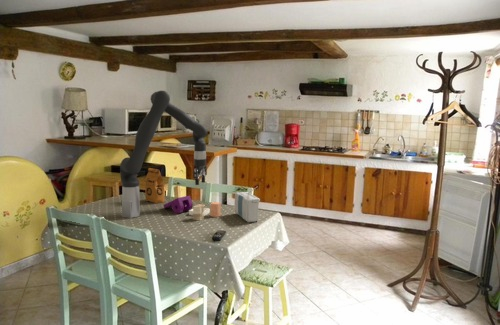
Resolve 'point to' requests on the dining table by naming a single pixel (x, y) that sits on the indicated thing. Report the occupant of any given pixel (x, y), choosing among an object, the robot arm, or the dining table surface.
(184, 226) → the dining table surface
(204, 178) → the robot arm
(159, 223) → the dining table surface
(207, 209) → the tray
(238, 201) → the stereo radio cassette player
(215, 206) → the terracotta block
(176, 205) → the mounting bracket
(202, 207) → the birch block
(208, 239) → the dining table surface
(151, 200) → the coffee package
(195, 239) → the dining table surface
